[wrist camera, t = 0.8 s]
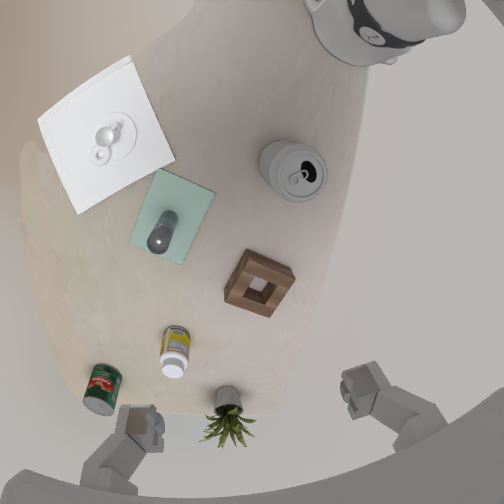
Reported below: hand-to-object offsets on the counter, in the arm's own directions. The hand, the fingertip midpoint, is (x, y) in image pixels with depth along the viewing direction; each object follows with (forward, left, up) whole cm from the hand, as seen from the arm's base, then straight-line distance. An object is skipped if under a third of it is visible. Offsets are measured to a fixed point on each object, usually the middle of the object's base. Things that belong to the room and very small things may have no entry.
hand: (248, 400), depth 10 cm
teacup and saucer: (0, -23, -37) cm, 43 cm away
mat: (+8, -6, -37) cm, 38 cm away
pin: (+8, -6, -36) cm, 38 cm away
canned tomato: (+53, -8, -37) cm, 65 cm away
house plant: (+44, +21, -37) cm, 61 cm away
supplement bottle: (+31, +4, -37) cm, 48 cm away
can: (-8, +6, -37) cm, 38 cm away
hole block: (+12, +12, -37) cm, 41 cm away
